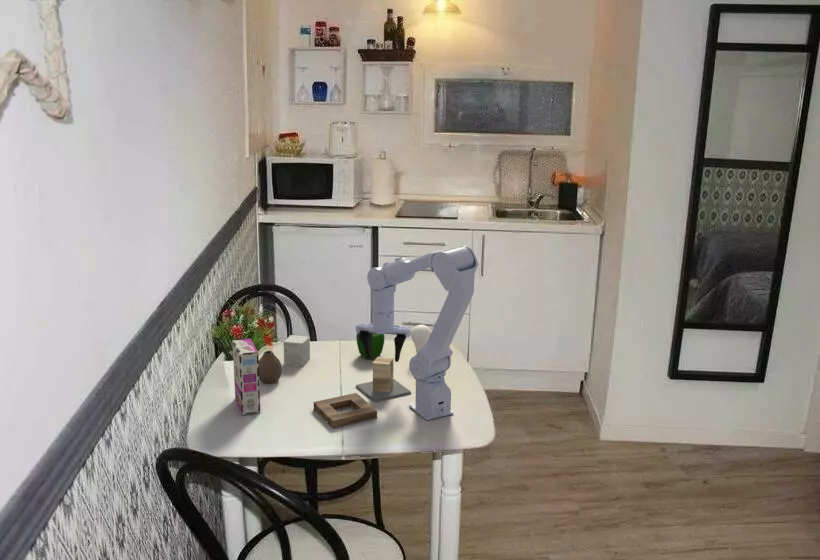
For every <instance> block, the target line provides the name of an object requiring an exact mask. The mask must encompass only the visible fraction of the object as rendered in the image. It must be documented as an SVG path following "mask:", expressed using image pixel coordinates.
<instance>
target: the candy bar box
mask: <svg viewBox="0 0 820 560" xmlns="http://www.w3.org/2000/svg"><path fill="white" fill-rule="evenodd" d="M231 341H232V359H233V377H234V382H233V383H234V399H235V401H236V404H237V406H238V408H239V412H240V413H241V416H248V415H247V414H249V415H256V414H260V413H261V394H260V391H261V390H260V388H261V387H260V380H259V360H260V357H259V352H258V350H257V348H256V347H255V345H254V343H253V341H252V339H251V338H244V339H238V340H237V339H235V340H231ZM255 413H256V414H255Z"/></svg>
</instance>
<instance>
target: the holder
mask: <svg viewBox="0 0 820 560" xmlns="http://www.w3.org/2000/svg"><path fill="white" fill-rule="evenodd" d="M345 408H352V410H348V411H344V412H338V410H341V409H345ZM313 410H314V411H315V412H316V413H317V414H318V415H319V416H320V417H321V419H323V420H324V421H325V422H326V421H327V422H328V423H327V422H326V423H327V424H328V425H329V426H330V428H332V429H335V428H341V427H344V426H348V425H352V424H356V423H357V424H358V423H361V422H365V421H370V420H375V419H378V410H377V409H376V408H375V407H374V406H372V404H370V403H369V402H368V401H367V400H365V399H364V398H363V397H362V396H361V395H360V394H358V393H357V392H353V393H350V394H345V395H344V394H343V395H340V396H335V397H331V398H326V399H321V400H317V401H313Z"/></svg>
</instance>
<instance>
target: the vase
mask: <svg viewBox="0 0 820 560" xmlns="http://www.w3.org/2000/svg"><path fill="white" fill-rule="evenodd" d="M282 373H283V367H282V363H281V361H280V359H279V358H278V357H277V356H276V355H275V354H274V352H273V350H266V351H264V352H263V354H262V356H261V357H259V382H261V383H262V384H264V385H269V386H270V385H274V384H276V383H277V382H279V381H280V379H281V378H282Z"/></svg>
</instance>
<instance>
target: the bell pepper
mask: <svg viewBox="0 0 820 560" xmlns="http://www.w3.org/2000/svg"><path fill="white" fill-rule="evenodd" d="M359 335H360V333H358V332H356V337H355V338H356V345H357V349H358V353H359V355H360V356H361V357H363V358H364V359H367V355H366V351H365V348H364V346H363V344H362V342H361V340H360V339H359ZM384 345H385V334H376V333H372V357H371V358H370V359H369V360H375V359H376V358H377V357H381V354H382V352H383V348H384ZM367 360H368V359H367Z"/></svg>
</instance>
